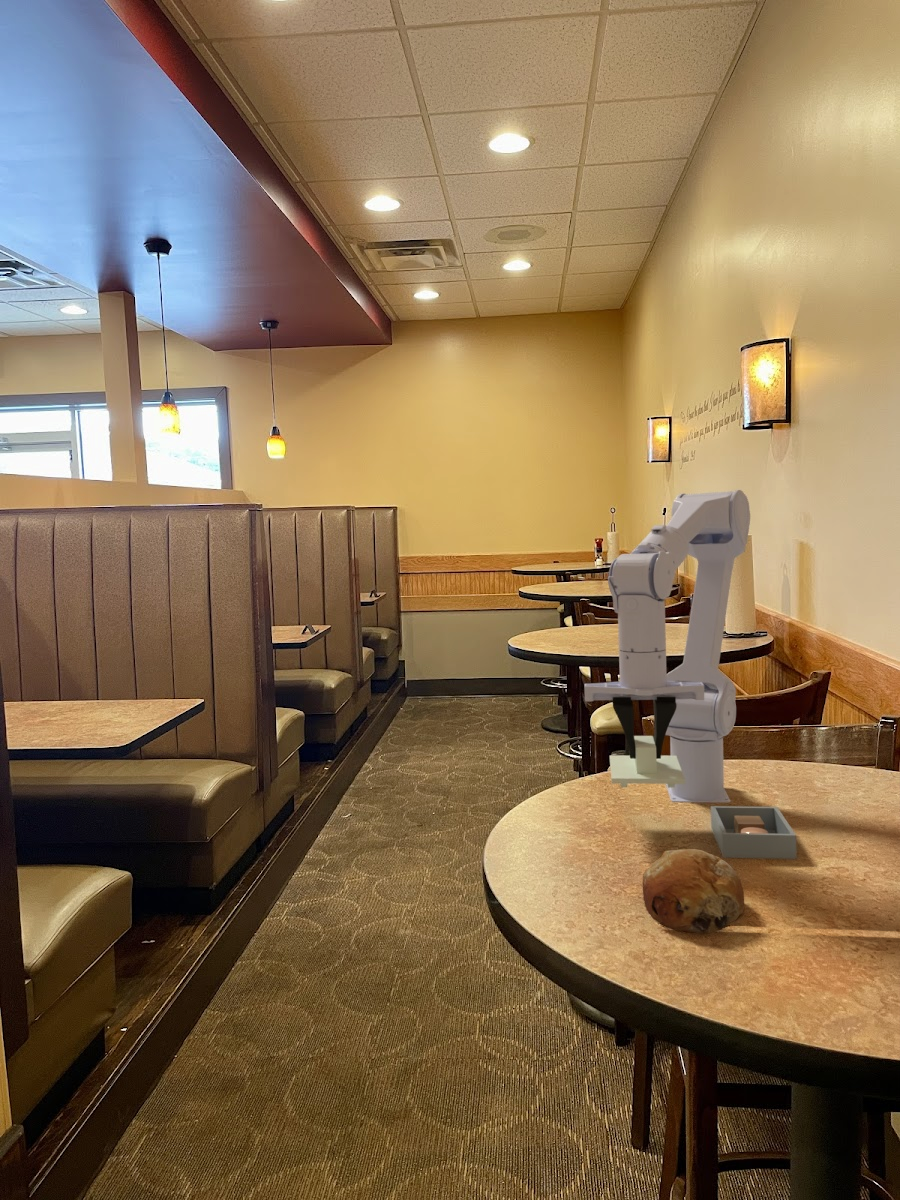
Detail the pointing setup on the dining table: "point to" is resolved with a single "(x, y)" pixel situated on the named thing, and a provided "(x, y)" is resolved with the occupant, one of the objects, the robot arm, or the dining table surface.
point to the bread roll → (692, 891)
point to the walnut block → (747, 822)
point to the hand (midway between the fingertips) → (644, 756)
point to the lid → (646, 766)
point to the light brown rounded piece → (753, 830)
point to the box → (753, 834)
